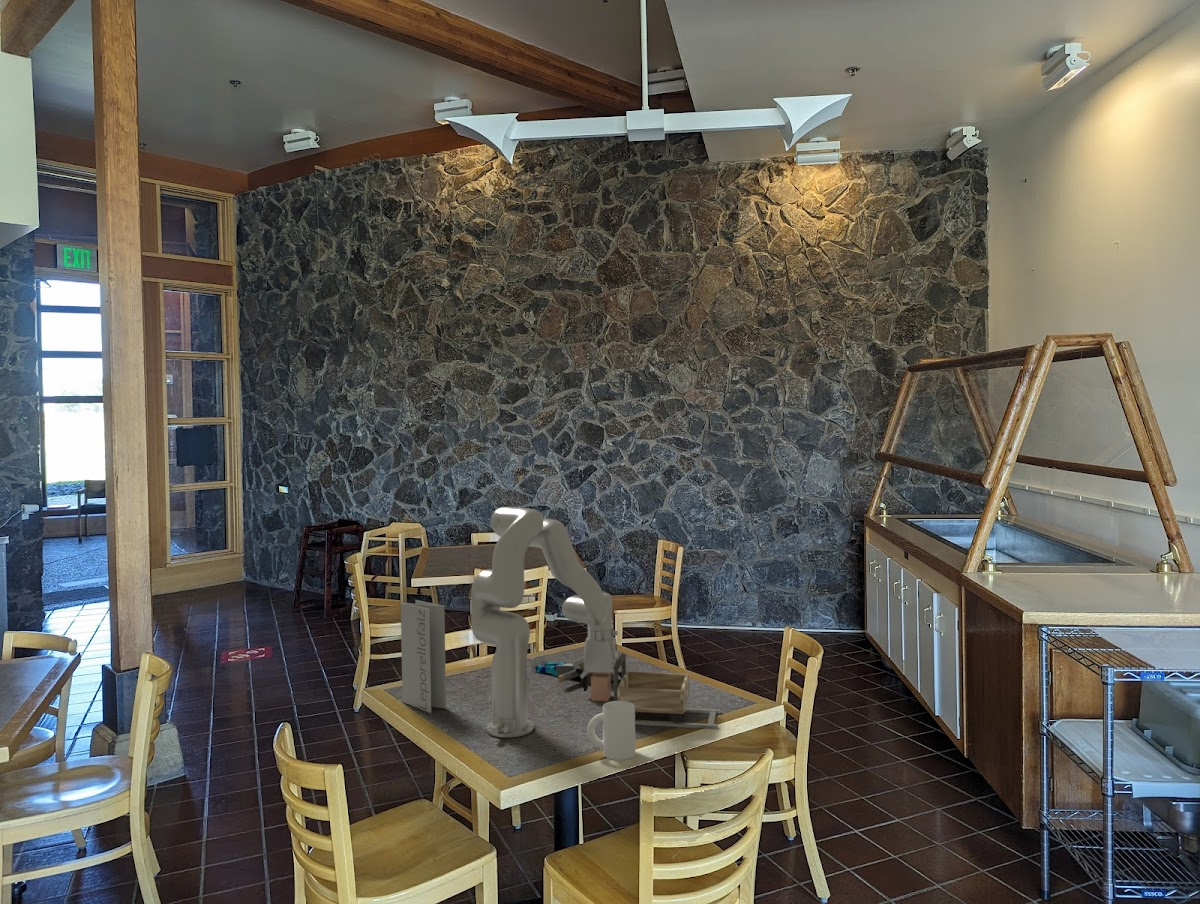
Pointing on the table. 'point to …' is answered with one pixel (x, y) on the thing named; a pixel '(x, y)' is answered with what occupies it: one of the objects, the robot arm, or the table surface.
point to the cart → (652, 690)
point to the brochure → (423, 655)
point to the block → (600, 686)
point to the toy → (559, 669)
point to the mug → (615, 730)
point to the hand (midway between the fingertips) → (601, 690)
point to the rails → (689, 725)
